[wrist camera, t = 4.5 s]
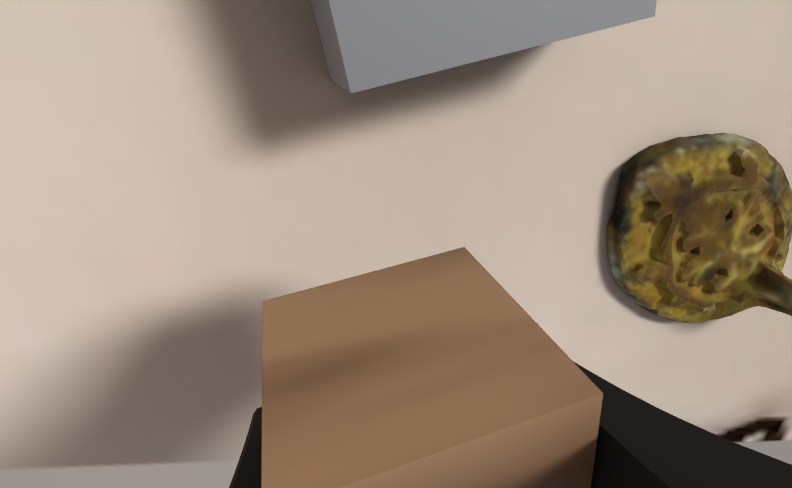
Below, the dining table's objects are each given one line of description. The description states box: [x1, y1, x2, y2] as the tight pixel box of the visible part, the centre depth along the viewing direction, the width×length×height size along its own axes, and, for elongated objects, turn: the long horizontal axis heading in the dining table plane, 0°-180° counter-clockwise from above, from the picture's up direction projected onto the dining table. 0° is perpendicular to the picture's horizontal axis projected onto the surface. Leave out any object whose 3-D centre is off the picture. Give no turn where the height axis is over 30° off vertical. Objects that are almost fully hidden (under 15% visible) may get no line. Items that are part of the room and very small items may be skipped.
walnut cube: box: [261, 247, 603, 488], centre depth 9 cm, size 5×5×5 cm
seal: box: [607, 133, 792, 323], centre depth 21 cm, size 9×5×15 cm
